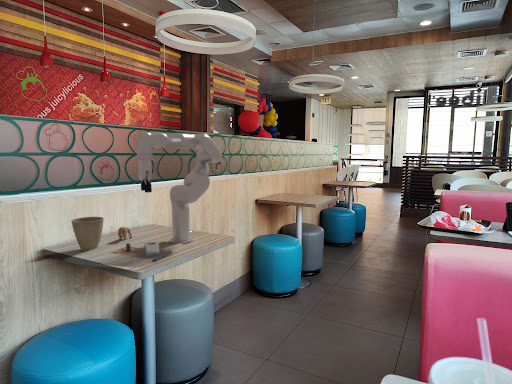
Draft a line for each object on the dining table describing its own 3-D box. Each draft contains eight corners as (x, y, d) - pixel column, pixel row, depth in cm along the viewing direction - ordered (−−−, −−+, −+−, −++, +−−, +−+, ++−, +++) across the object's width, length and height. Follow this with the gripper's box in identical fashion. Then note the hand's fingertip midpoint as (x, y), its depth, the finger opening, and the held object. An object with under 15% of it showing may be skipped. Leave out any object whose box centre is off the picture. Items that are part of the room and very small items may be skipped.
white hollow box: (144, 253, 169) (143, 243, 168) (156, 251, 172) (156, 241, 171) (146, 256, 163) (146, 246, 163) (159, 254, 166) (159, 244, 166)
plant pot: (110, 249, 179) (108, 218, 177) (79, 255, 168) (77, 223, 166) (98, 243, 189) (96, 215, 187) (68, 249, 178) (66, 219, 176)
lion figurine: (126, 243, 190) (126, 227, 189) (116, 244, 189) (115, 227, 188) (133, 237, 204) (132, 222, 203) (123, 237, 204) (123, 222, 203)
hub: (147, 250, 176) (147, 240, 176) (172, 252, 172) (171, 243, 172) (130, 258, 163) (129, 248, 163) (156, 261, 159) (155, 250, 158)
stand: (126, 248, 180) (125, 240, 180) (146, 250, 177) (145, 241, 176) (110, 255, 169) (109, 246, 168) (131, 257, 165) (130, 248, 165)
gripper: (134, 157, 179) (135, 190, 181) (140, 157, 164) (141, 193, 166) (149, 156, 182) (150, 189, 184) (156, 157, 167) (157, 192, 169)
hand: (146, 191), depth 175 cm, fingers open, 9 cm apart
